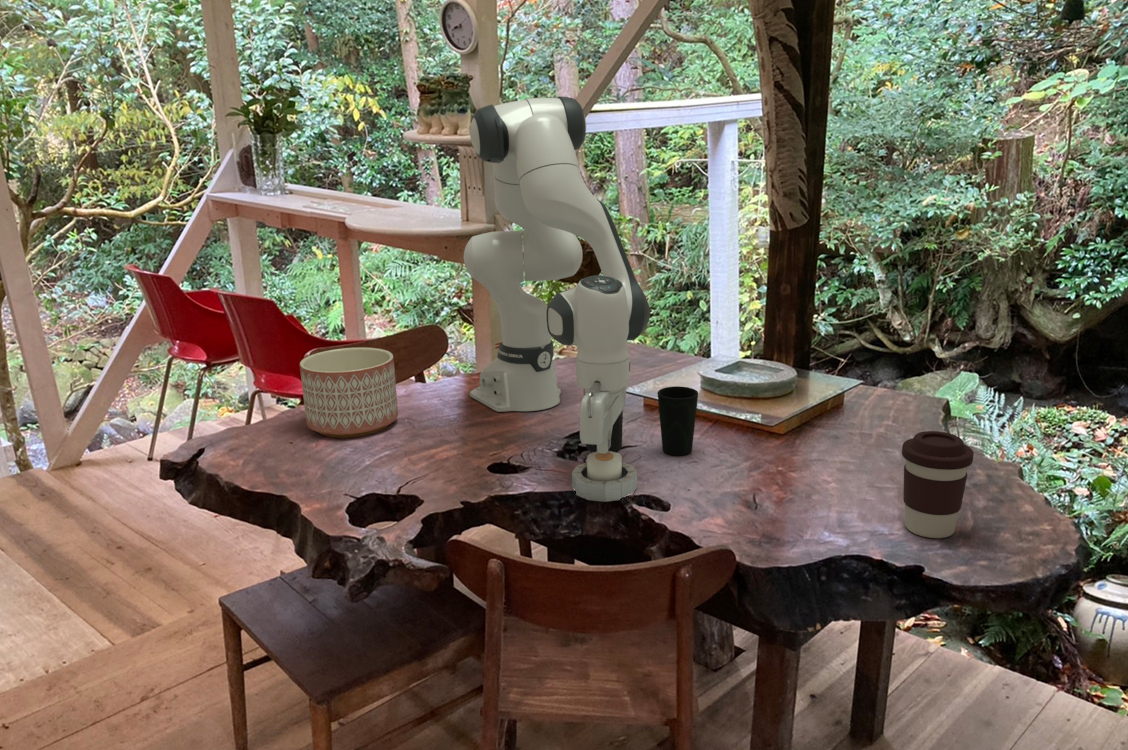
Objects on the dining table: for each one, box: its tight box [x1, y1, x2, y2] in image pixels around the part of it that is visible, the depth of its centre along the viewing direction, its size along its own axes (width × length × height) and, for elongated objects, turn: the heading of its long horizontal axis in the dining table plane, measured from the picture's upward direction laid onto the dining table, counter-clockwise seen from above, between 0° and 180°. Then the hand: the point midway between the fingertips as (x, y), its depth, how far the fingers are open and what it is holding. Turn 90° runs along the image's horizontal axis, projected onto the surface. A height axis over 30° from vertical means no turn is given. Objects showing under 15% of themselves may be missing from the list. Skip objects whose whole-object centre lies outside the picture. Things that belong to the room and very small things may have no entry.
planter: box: [299, 346, 399, 439], centre depth 186 cm, size 19×19×15 cm
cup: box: [657, 385, 699, 458], centre depth 167 cm, size 8×8×12 cm
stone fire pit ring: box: [571, 461, 638, 503], centre depth 153 cm, size 11×11×3 cm
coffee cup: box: [901, 430, 975, 539], centre depth 134 cm, size 10×10×15 cm
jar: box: [586, 451, 623, 482], centre depth 152 cm, size 6×6×5 cm
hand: (603, 450), depth 151 cm, fingers closed
